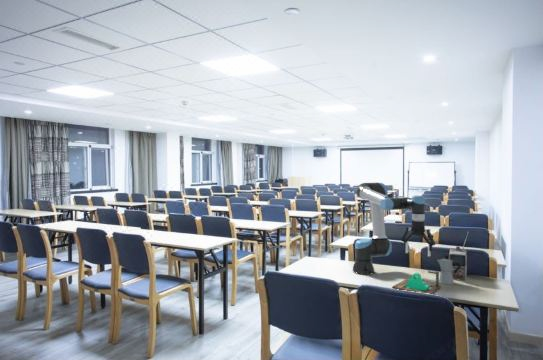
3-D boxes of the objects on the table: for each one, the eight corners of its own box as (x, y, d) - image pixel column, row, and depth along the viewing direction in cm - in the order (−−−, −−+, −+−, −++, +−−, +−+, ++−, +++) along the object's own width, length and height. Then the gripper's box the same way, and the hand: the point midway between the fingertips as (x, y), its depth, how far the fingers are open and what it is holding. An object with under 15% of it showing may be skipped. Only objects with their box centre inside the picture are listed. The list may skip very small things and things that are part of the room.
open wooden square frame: (392, 288, 226) (392, 272, 226) (405, 280, 242) (405, 265, 241) (428, 296, 211) (428, 279, 211) (440, 287, 227) (440, 271, 227)
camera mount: (429, 289, 224) (429, 272, 224) (425, 292, 218) (425, 275, 218) (409, 285, 232) (410, 269, 232) (405, 288, 226) (405, 272, 226)
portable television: (448, 280, 243) (448, 235, 242) (449, 271, 264) (449, 230, 263) (468, 282, 237) (469, 236, 237) (468, 273, 258) (468, 231, 258)
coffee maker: (433, 282, 239) (433, 254, 238) (439, 279, 245) (439, 252, 244) (458, 287, 228) (458, 258, 228) (462, 284, 234) (463, 256, 234)
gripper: (396, 219, 231) (395, 252, 232) (437, 223, 214) (436, 258, 215) (400, 218, 237) (400, 250, 237) (441, 221, 220) (440, 256, 221)
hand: (417, 254), depth 226 cm, fingers open, 13 cm apart
